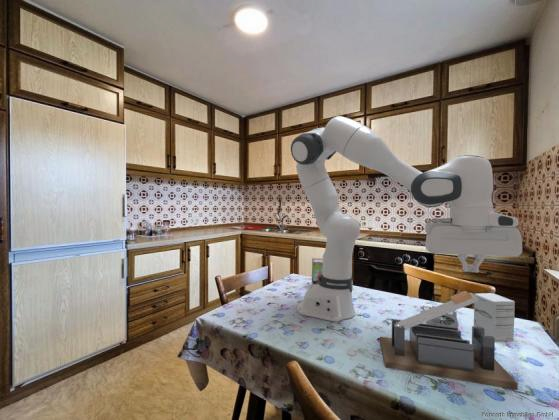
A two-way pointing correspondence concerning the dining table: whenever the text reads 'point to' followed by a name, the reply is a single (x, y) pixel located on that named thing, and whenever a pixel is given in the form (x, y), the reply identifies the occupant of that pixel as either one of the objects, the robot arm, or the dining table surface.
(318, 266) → the tea box
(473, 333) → the heatsink board
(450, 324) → the graphics card
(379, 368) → the dining table surface
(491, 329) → the supplement box
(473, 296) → the bar
